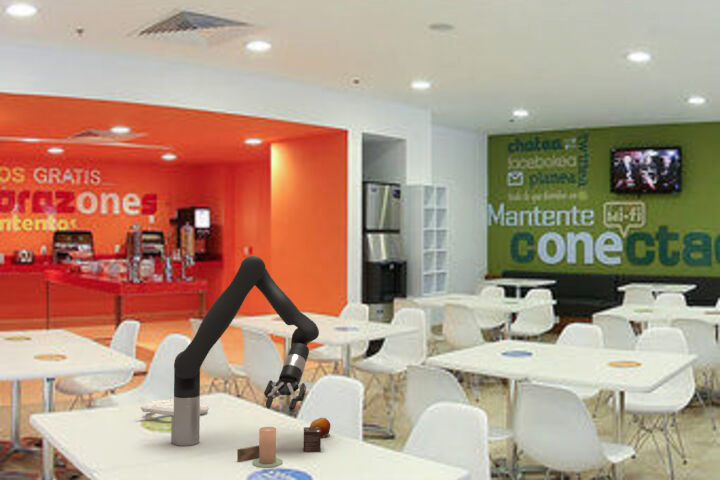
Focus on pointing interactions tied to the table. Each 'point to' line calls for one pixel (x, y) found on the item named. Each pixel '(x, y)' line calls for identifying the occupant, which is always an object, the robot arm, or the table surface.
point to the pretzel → (166, 407)
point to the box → (312, 439)
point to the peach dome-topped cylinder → (267, 445)
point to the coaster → (257, 464)
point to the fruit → (322, 426)
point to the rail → (247, 453)
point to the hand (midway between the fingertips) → (279, 408)
